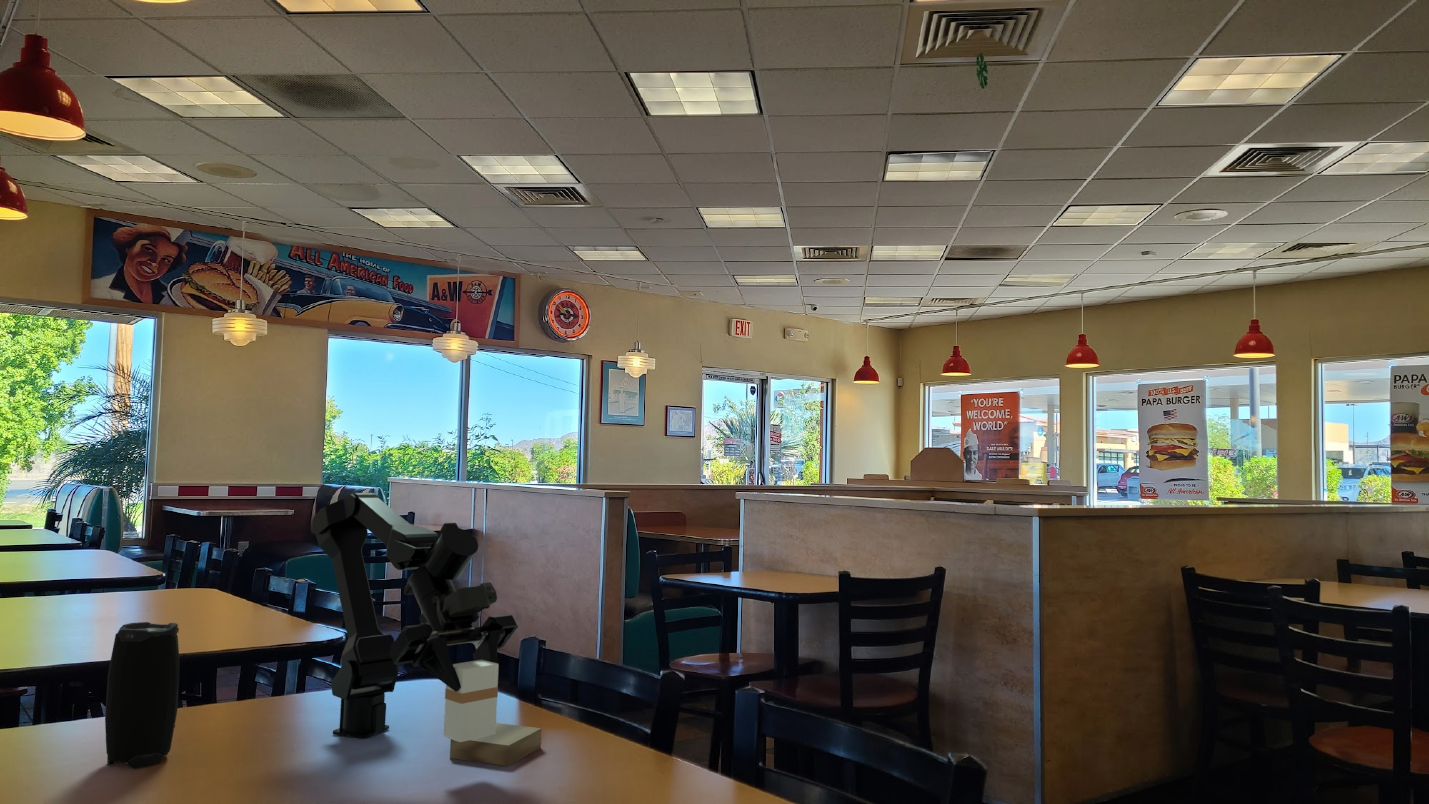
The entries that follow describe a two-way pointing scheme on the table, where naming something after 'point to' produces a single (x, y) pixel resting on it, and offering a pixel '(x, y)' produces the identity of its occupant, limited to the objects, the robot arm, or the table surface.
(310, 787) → the table surface
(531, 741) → the base
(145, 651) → the portable speaker
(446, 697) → the carton
